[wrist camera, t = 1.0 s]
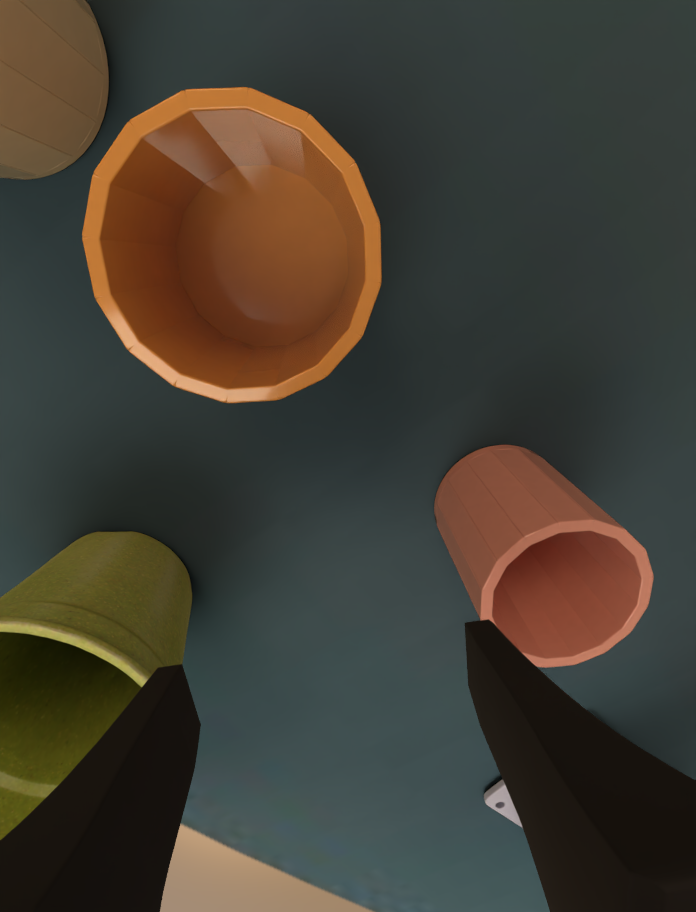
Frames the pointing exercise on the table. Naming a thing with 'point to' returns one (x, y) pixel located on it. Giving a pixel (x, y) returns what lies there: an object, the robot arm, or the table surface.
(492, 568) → the rose cup
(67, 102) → the cream cup
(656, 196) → the table surface
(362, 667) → the table surface
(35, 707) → the plant pot
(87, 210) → the ochre cup
